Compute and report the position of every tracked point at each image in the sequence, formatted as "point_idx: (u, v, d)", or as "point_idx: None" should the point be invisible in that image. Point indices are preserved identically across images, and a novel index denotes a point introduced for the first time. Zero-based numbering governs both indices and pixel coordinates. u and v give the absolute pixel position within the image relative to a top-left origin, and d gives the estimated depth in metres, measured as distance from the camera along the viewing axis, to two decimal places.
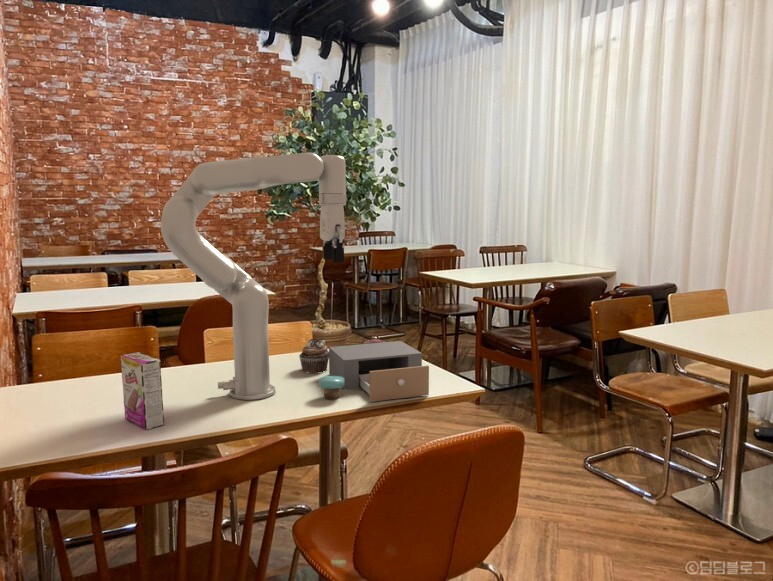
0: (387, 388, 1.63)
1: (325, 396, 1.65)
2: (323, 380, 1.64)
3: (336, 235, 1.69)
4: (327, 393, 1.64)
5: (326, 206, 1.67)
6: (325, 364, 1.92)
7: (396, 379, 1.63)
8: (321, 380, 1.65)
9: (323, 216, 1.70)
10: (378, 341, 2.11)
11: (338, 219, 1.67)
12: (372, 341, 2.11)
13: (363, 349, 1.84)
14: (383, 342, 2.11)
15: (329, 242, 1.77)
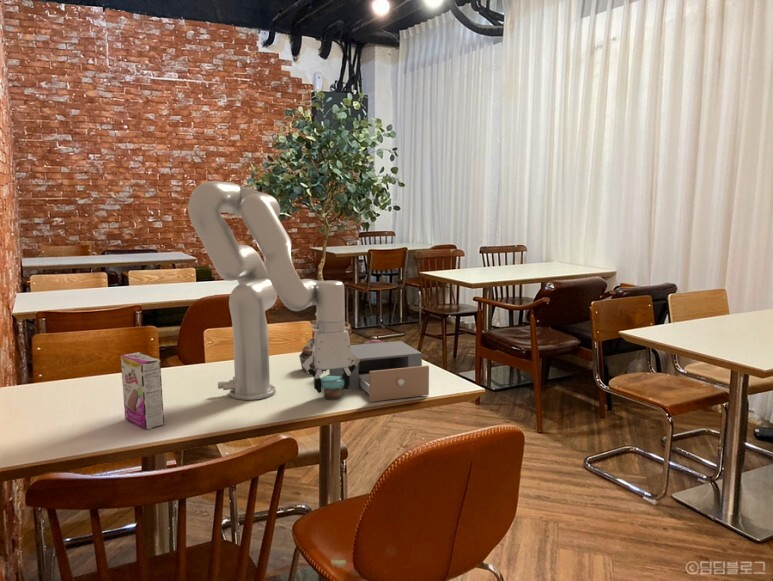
0: (387, 388, 1.63)
1: (325, 396, 1.65)
2: (323, 380, 1.65)
3: None
4: (327, 393, 1.64)
5: (342, 333, 1.62)
6: None
7: (396, 379, 1.63)
8: (321, 380, 1.65)
9: (335, 344, 1.62)
10: (378, 341, 2.10)
11: None
12: (372, 341, 2.10)
13: (363, 349, 1.84)
14: (383, 342, 2.10)
15: None
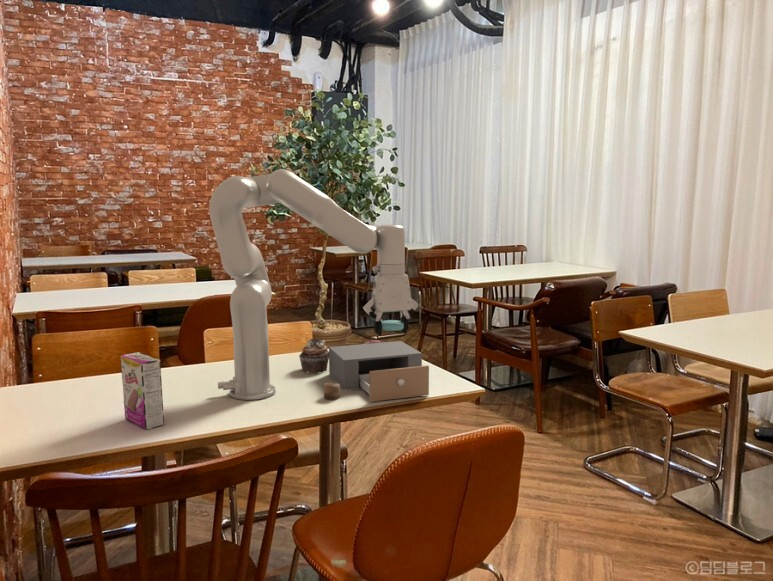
0: (387, 388, 1.63)
1: (325, 396, 1.65)
2: (383, 323, 1.67)
3: None
4: (327, 393, 1.64)
5: (403, 276, 1.65)
6: (325, 364, 1.92)
7: (396, 379, 1.63)
8: None
9: (395, 287, 1.64)
10: (378, 342, 2.10)
11: None
12: (372, 342, 2.10)
13: (363, 349, 1.84)
14: None
15: None
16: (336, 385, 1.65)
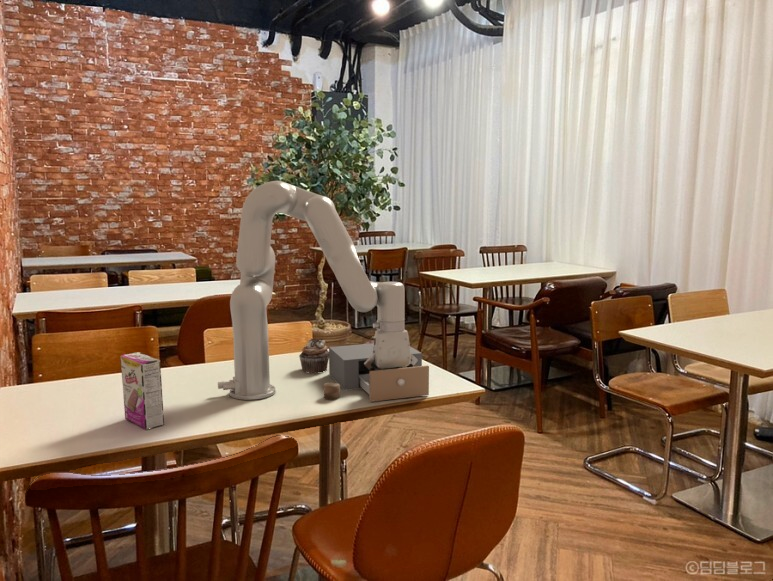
0: (387, 388, 1.63)
1: (325, 396, 1.65)
2: None
3: None
4: (327, 393, 1.64)
5: (402, 333, 1.67)
6: (325, 364, 1.92)
7: (396, 379, 1.63)
8: None
9: (395, 344, 1.67)
10: None
11: None
12: (372, 342, 2.09)
13: (363, 349, 1.84)
14: None
15: None
16: (336, 385, 1.65)
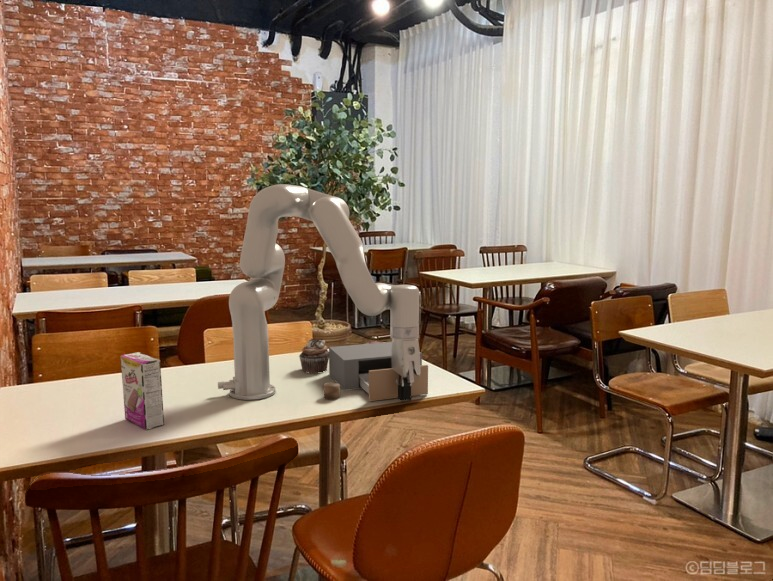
0: (386, 387, 1.63)
1: (325, 396, 1.65)
2: None
3: None
4: (327, 393, 1.64)
5: None
6: (325, 364, 1.92)
7: (395, 378, 1.64)
8: None
9: None
10: None
11: None
12: None
13: (363, 349, 1.84)
14: None
15: None
16: (336, 385, 1.65)
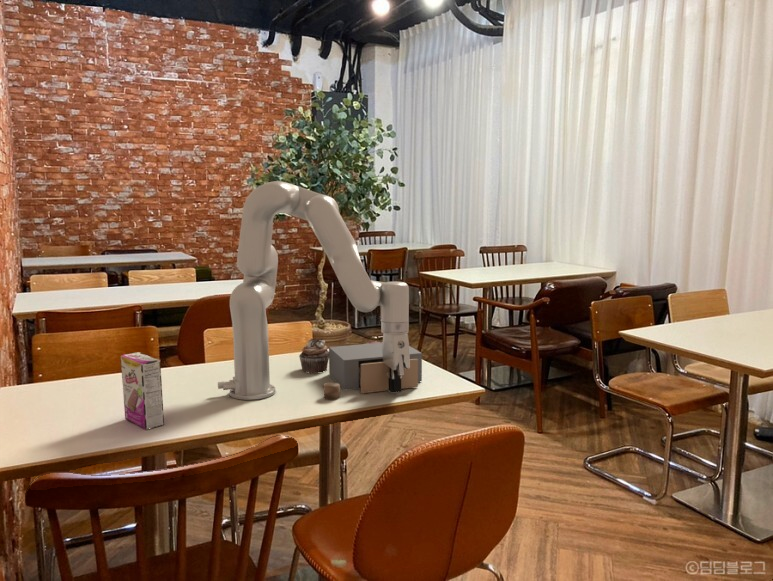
0: (377, 380, 1.70)
1: (325, 396, 1.65)
2: None
3: None
4: (327, 393, 1.64)
5: None
6: (325, 364, 1.92)
7: (386, 372, 1.71)
8: None
9: None
10: None
11: None
12: None
13: (363, 349, 1.84)
14: None
15: None
16: (336, 385, 1.65)
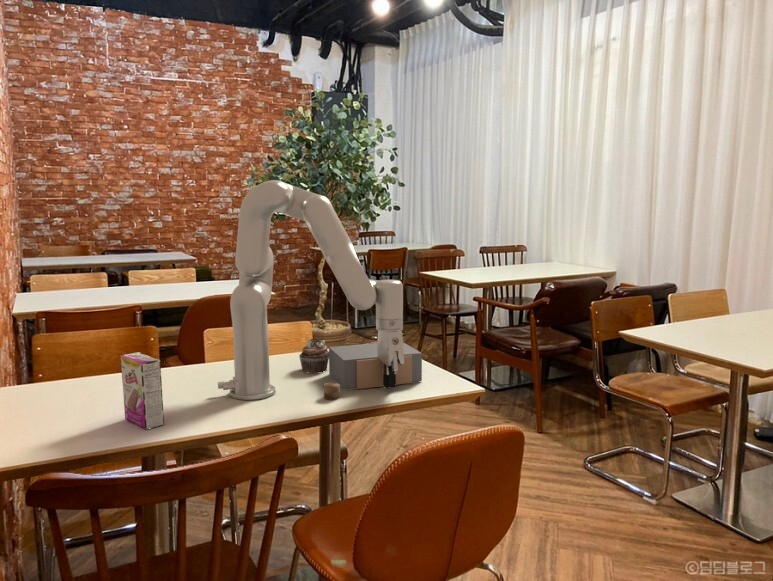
0: (373, 376, 1.74)
1: (325, 396, 1.65)
2: None
3: None
4: (327, 393, 1.64)
5: None
6: (325, 364, 1.92)
7: (381, 368, 1.75)
8: None
9: None
10: None
11: None
12: None
13: (363, 349, 1.84)
14: None
15: None
16: (336, 385, 1.65)
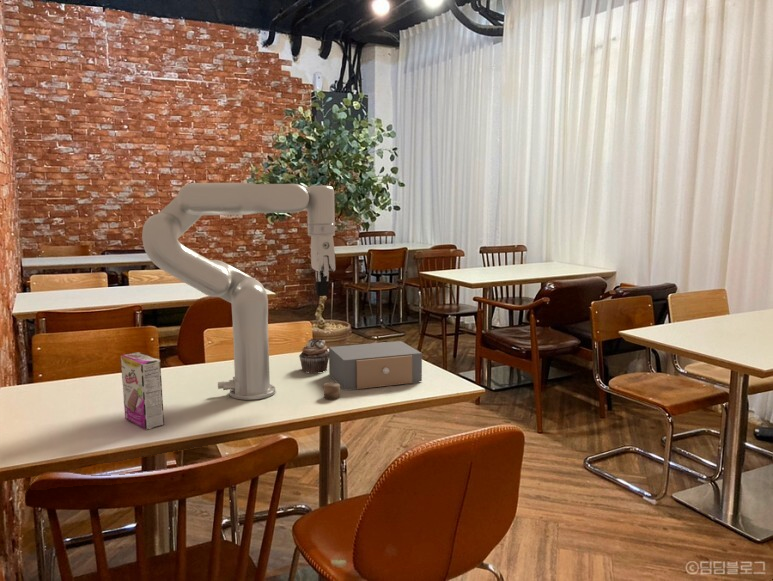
0: (373, 376, 1.74)
1: (325, 396, 1.65)
2: None
3: None
4: (327, 393, 1.64)
5: None
6: (325, 364, 1.92)
7: (381, 368, 1.75)
8: None
9: None
10: None
11: None
12: None
13: (363, 349, 1.84)
14: None
15: None
16: (336, 385, 1.65)
